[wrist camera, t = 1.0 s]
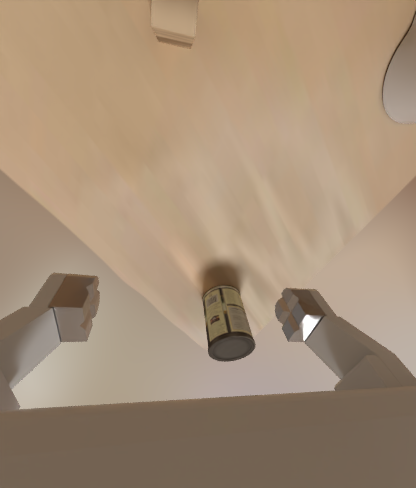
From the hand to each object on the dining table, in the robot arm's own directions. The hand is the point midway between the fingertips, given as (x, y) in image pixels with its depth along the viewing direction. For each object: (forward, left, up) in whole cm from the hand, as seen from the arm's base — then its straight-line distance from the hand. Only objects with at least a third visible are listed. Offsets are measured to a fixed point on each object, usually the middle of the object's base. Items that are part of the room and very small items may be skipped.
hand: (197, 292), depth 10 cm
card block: (-8, -11, -32) cm, 34 cm away
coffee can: (+16, +36, -32) cm, 51 cm away
